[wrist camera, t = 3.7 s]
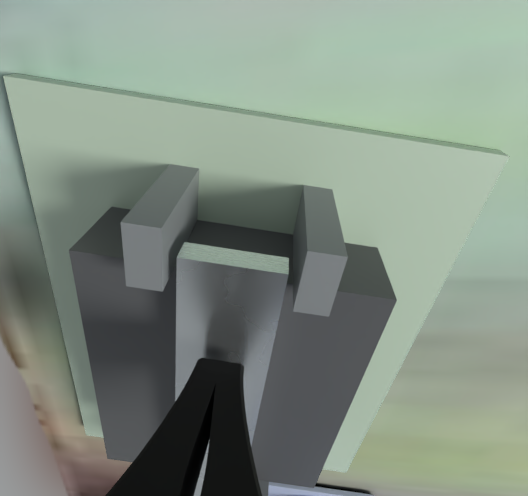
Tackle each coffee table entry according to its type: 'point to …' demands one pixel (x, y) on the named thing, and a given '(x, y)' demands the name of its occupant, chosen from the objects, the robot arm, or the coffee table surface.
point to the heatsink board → (252, 193)
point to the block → (228, 316)
